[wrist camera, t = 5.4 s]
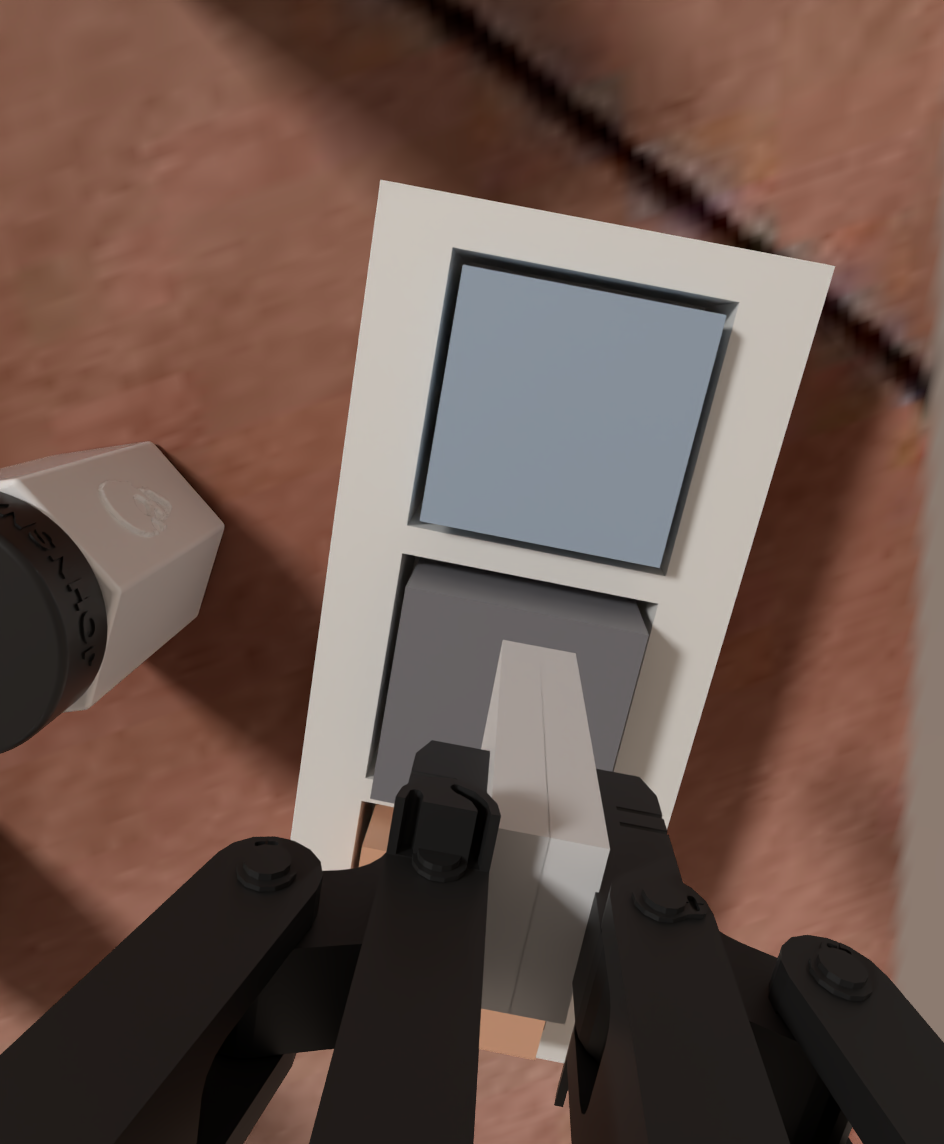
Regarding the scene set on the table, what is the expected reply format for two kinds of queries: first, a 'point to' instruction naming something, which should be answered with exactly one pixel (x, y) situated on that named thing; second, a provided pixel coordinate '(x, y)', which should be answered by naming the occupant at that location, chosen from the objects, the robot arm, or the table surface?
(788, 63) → the table surface
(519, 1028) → the terracotta key
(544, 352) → the slate key
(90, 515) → the jar
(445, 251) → the board
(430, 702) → the charcoal key
